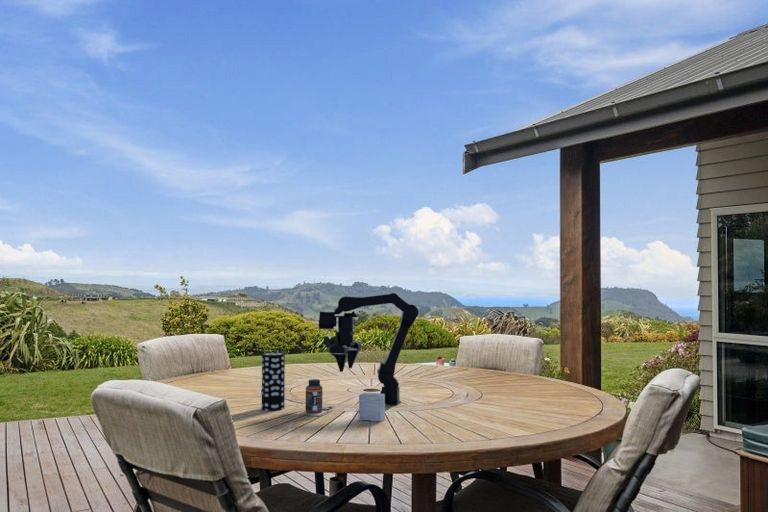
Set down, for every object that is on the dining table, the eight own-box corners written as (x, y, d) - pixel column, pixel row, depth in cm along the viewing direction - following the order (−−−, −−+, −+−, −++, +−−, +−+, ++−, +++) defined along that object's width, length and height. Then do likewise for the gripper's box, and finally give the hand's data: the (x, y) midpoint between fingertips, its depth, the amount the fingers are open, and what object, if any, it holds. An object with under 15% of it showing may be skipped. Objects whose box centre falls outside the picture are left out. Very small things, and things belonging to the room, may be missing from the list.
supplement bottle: (319, 414, 213) (319, 381, 213) (303, 413, 214) (303, 380, 214) (324, 410, 219) (324, 378, 219) (308, 410, 220) (308, 378, 220)
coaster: (328, 412, 219) (328, 410, 219) (319, 416, 211) (319, 415, 211) (308, 410, 221) (308, 409, 221) (298, 415, 214) (298, 413, 214)
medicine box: (385, 419, 207) (385, 393, 207) (380, 422, 203) (380, 395, 203) (363, 417, 209) (363, 392, 210) (358, 420, 205) (358, 394, 206)
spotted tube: (288, 407, 227) (289, 353, 228) (275, 411, 219) (276, 355, 220) (270, 405, 230) (270, 352, 231) (256, 409, 223) (257, 354, 224)
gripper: (335, 327, 246) (335, 366, 246) (316, 330, 229) (316, 372, 228) (361, 327, 243) (361, 367, 242) (344, 331, 225) (344, 373, 224)
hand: (345, 369), depth 234 cm, fingers open, 9 cm apart
